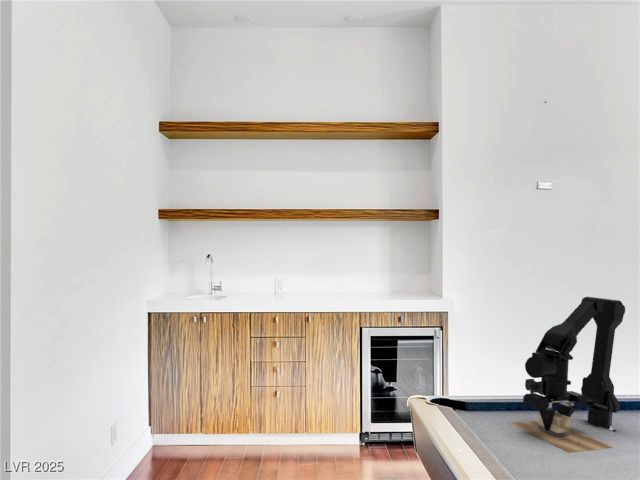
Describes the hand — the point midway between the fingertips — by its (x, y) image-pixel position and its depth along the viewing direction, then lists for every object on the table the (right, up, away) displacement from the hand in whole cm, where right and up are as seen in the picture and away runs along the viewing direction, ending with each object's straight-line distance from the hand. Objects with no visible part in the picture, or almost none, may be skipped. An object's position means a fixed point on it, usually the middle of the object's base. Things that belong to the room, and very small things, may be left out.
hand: (553, 429), depth 144 cm
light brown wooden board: (0, -2, -2) cm, 3 cm away
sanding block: (0, -1, 0) cm, 1 cm away
